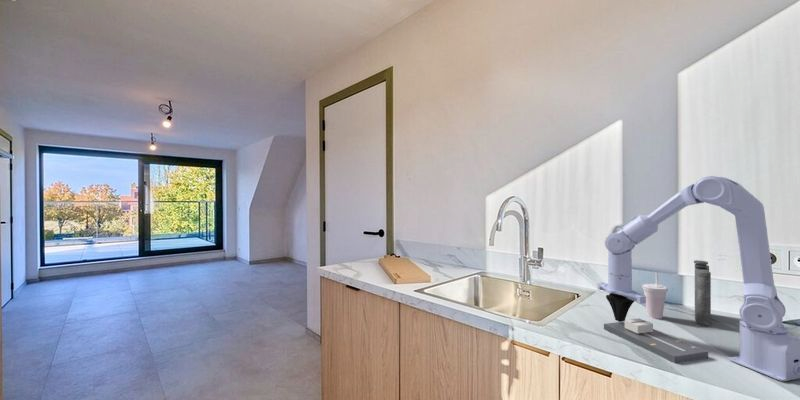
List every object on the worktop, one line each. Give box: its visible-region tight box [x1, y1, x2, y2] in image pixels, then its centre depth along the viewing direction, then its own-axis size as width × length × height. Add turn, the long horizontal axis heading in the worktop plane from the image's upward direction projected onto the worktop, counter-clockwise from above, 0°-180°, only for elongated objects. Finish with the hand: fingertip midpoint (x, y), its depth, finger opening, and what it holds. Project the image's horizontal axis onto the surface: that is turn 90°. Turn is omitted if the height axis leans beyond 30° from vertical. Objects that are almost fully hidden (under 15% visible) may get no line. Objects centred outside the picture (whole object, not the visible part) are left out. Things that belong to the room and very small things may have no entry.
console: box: [603, 321, 709, 364], centre depth 87 cm, size 20×10×2 cm, turn 12°
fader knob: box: [625, 317, 654, 334], centre depth 91 cm, size 4×5×2 cm
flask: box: [693, 259, 712, 328], centre depth 102 cm, size 4×14×18 cm, turn 139°
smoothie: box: [641, 272, 668, 320], centre depth 105 cm, size 6×6×14 cm
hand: (620, 320), depth 96 cm, fingers closed
